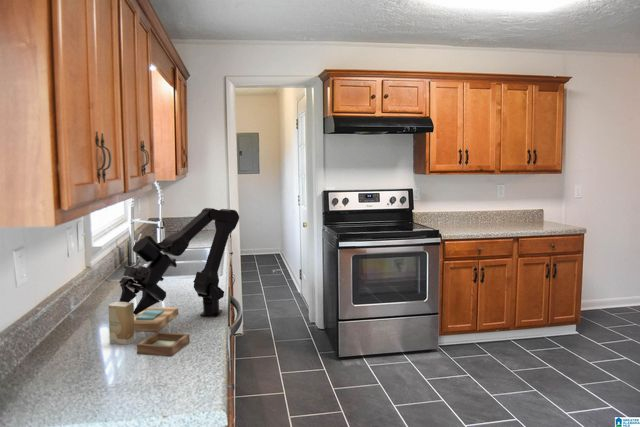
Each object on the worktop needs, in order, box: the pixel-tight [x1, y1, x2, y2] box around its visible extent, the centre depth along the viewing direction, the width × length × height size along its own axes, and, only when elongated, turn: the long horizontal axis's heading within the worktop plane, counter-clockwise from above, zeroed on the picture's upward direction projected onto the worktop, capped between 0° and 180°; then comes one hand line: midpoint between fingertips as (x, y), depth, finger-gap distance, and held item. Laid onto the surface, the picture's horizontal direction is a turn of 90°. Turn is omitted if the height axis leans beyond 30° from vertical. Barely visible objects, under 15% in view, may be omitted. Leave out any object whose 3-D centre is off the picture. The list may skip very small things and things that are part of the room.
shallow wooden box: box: [134, 306, 179, 332], centre depth 177 cm, size 18×12×3 cm, turn 174°
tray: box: [136, 331, 191, 357], centre depth 153 cm, size 11×11×2 cm
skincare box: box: [108, 301, 136, 345], centre depth 158 cm, size 6×4×12 cm
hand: (126, 311), depth 159 cm, fingers open, 9 cm apart
